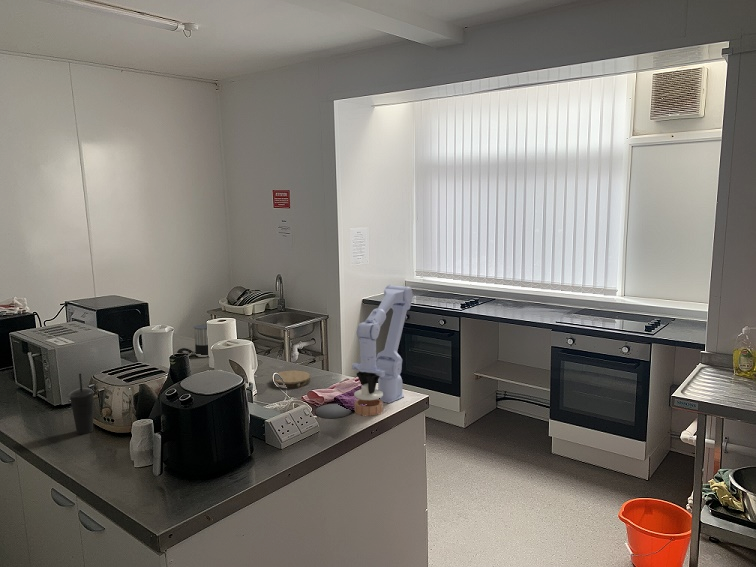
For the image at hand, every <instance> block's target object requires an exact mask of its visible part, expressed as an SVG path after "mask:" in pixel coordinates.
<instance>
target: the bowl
mask: <svg viewBox="0 0 756 567" xmlns="http://www.w3.org/2000/svg"><path fill="white" fill-rule="evenodd" d="M360 404H367V405H366V406H362V405H360ZM353 405H354V412H355V414H357V415H359V416H362V415H364V416H365V415H366V416H365V417H372V416H371V415H374V416H378V415H380V414H382V413H383V411H384V409H383V408H384V402H383V401H381V400H380V399H376V400H361V399H356V400H355V401H354V404H353ZM381 412H382V413H381ZM379 413H380V414H379ZM377 414H378V415H377Z"/></svg>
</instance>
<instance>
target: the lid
mask: <svg viewBox="0 0 756 567" xmlns="http://www.w3.org/2000/svg"><path fill="white" fill-rule="evenodd" d="M376 386H377V385H376ZM376 386H375V390H374V393H371V394H370V393H369V390H368V383H367V384H364V385H362V386H361V388H360V389H358V390H356V391H354V393H353V394H354V395H353V396H354V398H356V400H358V399H361V400H376V399H379V398H381V397H382V396H383V392H382V391H380V390H378V389H377V388H376Z"/></svg>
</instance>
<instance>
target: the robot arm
mask: <svg viewBox="0 0 756 567" xmlns="http://www.w3.org/2000/svg"><path fill="white" fill-rule="evenodd" d="M413 296H414V294H413V289H412V288H411V286H403V285H391V284H388V285H386V287H385V288H384V289H383V298H382V300H381V302H380V304H379V305H378V307H377V308H374V309H373V310H371V312H370V314H369V315H368V317H367V318H366V319H365V321H363V322H360V323H359V324H358V326H357V329H356V336H357V338H358V343H359V350H360V351H359V352H360V353H359V355H360V356H359V359H360V361H359V362H360V363H357V362H354V363H352V364H351V369H352V370H355V371H356V370H357V371H358V372H356V376H357V378H358V379H359V383H360V385H361V386H362V385H364V384H367V383H368V390H369V393H370V394H371V393H374V390H375V386H377V388H378V389H377V390H380V391H382V392H383V396H382V397H381V398H380V400H381V401H382V402H383V403H387V404H390V403H394V402H395V401H398V400H399V399H402V398H405V395H403V379H402V376H401V373H402V369H403V367H402V366H403V358H402V357H401V355H400V354H399V353H398V351H399V350H398V349H399V345H400V341H401V338H402V333H403V328H404V325H405V321H406V317H407V311H409V310H410V309H411V306H412V301H413ZM390 309H392V312H393V313H392V316H391V320H390V325H389V328H388V332H387V337H386V341H385V345H384V349H383V350H381V351H379V352H378V353H377V339H378V338H379V335H380V331H381V327H382V325H383V324H384V323H385V321H386V319H387V315H386V314H387V313H388V312H389V310H390Z"/></svg>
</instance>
